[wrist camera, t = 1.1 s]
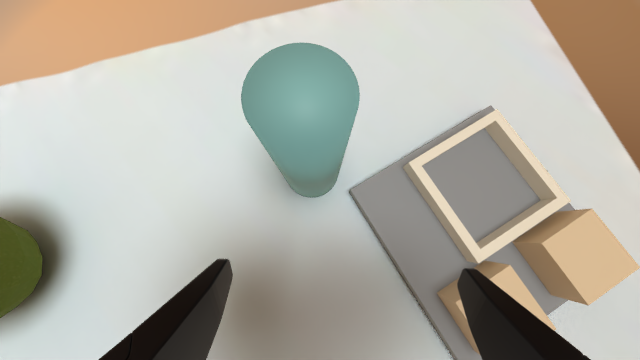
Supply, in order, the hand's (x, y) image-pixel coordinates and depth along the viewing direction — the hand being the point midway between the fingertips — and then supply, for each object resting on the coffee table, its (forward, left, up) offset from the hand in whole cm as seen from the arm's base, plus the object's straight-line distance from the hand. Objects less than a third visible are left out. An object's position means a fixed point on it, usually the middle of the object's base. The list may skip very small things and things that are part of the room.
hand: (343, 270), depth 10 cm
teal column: (+2, +7, -13) cm, 15 cm away
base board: (+12, -5, -13) cm, 19 cm away
